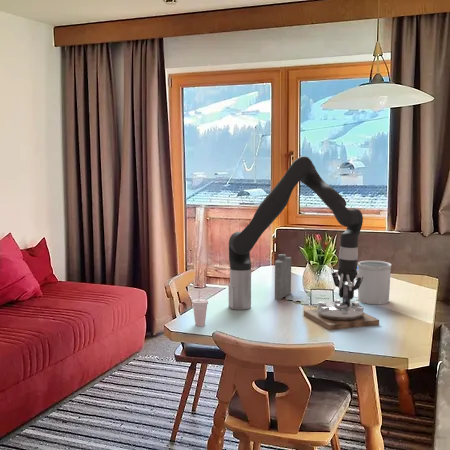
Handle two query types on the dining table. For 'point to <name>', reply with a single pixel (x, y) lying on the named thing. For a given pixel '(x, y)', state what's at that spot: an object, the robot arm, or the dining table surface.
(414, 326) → the dining table surface
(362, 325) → the brown wooden board
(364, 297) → the utensil holder
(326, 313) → the silver round piece
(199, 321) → the smoothie
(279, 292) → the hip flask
